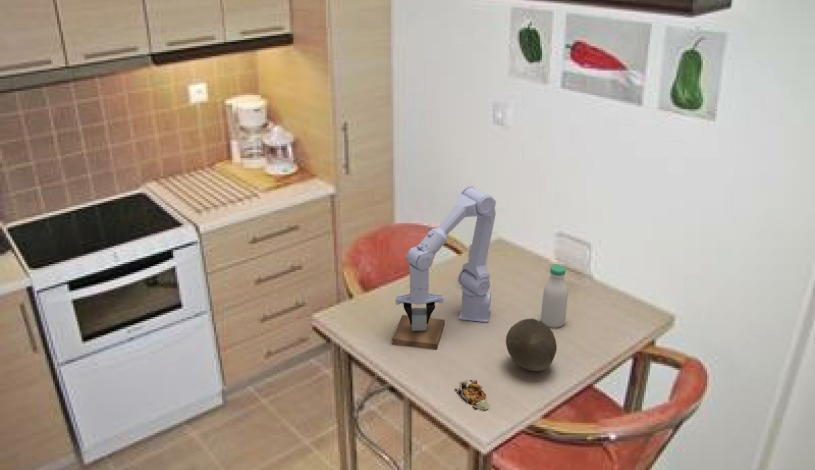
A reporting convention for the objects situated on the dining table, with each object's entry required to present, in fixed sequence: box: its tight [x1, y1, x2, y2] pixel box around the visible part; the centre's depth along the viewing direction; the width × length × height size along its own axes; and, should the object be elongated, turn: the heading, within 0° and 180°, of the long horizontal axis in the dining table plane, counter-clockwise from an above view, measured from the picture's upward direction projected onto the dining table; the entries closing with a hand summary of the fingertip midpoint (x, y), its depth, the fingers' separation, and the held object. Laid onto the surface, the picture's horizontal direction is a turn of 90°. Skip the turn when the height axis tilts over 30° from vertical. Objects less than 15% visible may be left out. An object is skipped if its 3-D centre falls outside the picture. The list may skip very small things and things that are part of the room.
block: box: [412, 307, 427, 331], centre depth 218 cm, size 4×4×6 cm
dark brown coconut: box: [505, 318, 558, 372], centre depth 201 cm, size 14×14×15 cm
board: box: [391, 314, 446, 350], centre depth 220 cm, size 14×14×2 cm
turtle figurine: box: [453, 379, 491, 413], centre depth 192 cm, size 7×12×4 cm, turn 32°
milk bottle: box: [540, 264, 569, 329], centre depth 222 cm, size 8×8×20 cm
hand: (419, 322), depth 218 cm, fingers closed on block, 4 cm apart
